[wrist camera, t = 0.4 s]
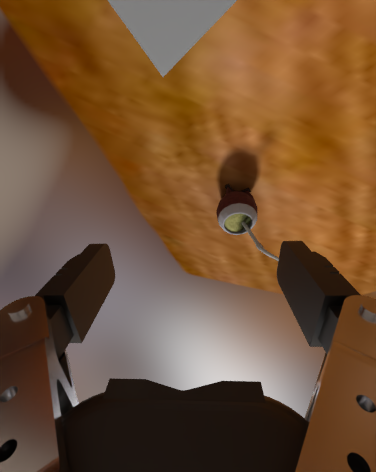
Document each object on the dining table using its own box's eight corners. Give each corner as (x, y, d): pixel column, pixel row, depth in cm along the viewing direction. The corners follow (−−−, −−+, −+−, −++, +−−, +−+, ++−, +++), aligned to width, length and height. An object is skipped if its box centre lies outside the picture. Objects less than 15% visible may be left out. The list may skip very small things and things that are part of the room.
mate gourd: (209, 192, 43) (209, 251, 32) (247, 171, 39) (261, 230, 29) (228, 216, 47) (233, 276, 36) (264, 200, 43) (281, 261, 33)
